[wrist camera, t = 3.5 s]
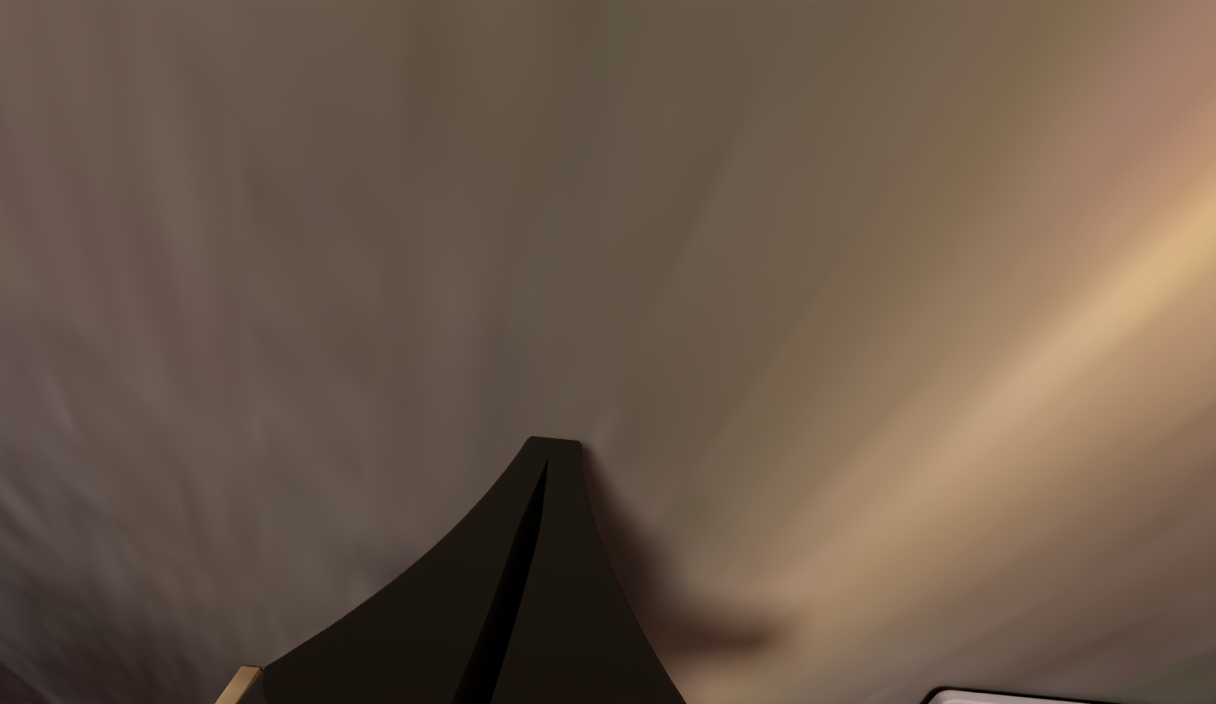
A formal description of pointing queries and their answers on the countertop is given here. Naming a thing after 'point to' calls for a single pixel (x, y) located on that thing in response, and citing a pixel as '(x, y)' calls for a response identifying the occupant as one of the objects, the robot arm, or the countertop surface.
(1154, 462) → the countertop surface
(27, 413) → the countertop surface
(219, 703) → the bay rack
